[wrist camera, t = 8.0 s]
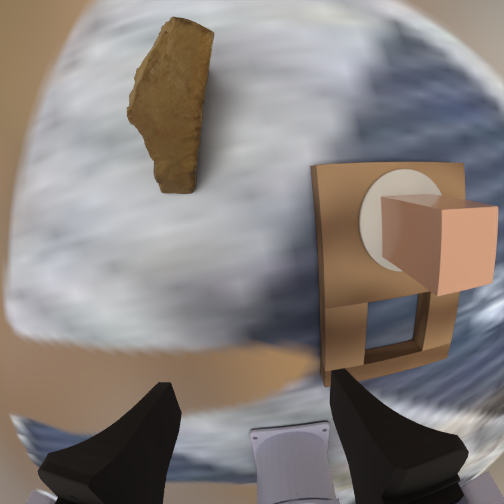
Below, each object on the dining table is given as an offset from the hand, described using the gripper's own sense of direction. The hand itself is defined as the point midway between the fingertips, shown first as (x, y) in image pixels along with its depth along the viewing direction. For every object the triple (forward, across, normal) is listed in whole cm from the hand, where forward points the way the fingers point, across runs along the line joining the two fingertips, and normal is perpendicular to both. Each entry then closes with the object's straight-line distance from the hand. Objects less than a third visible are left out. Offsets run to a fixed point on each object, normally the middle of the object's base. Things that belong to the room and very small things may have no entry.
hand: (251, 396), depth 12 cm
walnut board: (+10, -11, -1) cm, 15 cm away
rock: (+11, +4, -14) cm, 18 cm away
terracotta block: (+8, -11, -5) cm, 14 cm away
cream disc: (+8, -11, -6) cm, 15 cm away
